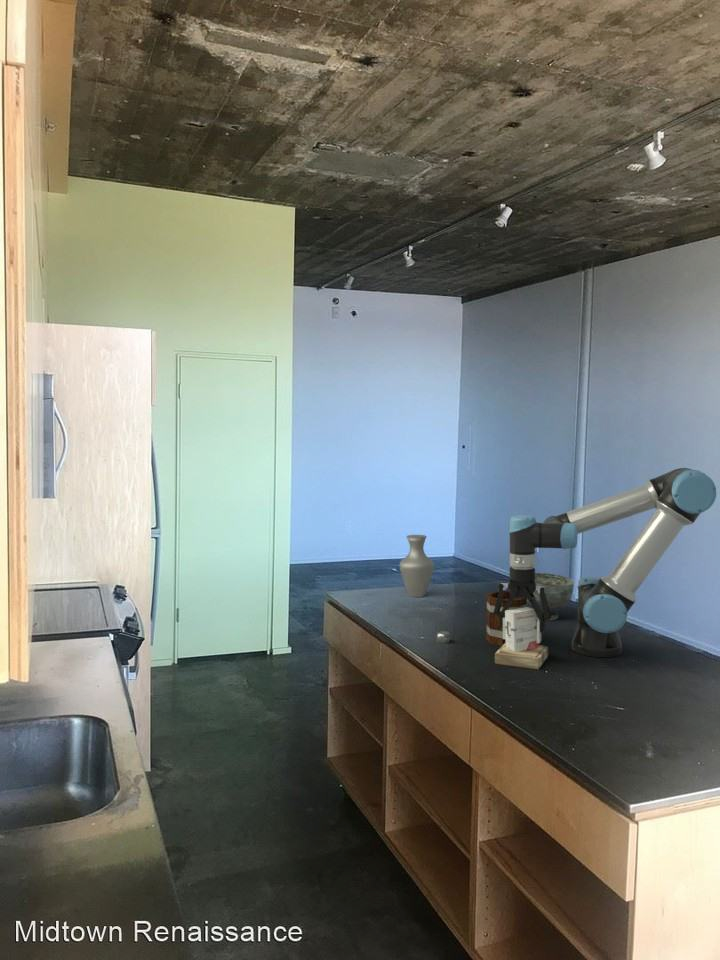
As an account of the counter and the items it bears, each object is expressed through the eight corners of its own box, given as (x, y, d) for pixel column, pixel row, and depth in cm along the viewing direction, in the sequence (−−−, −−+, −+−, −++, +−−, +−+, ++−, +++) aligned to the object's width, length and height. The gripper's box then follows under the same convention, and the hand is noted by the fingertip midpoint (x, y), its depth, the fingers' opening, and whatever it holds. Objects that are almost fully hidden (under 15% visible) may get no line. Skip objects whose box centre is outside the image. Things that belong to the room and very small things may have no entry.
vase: (417, 589, 320) (416, 532, 318) (441, 595, 309) (441, 536, 307) (392, 595, 311) (392, 535, 309) (416, 601, 300) (416, 539, 298)
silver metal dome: (439, 639, 248) (439, 630, 247) (451, 641, 246) (450, 632, 246) (435, 642, 244) (435, 633, 244) (446, 644, 242) (446, 635, 242)
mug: (524, 648, 237) (524, 601, 236) (482, 644, 242) (482, 598, 240) (531, 631, 256) (531, 588, 255) (491, 628, 260) (491, 586, 259)
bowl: (576, 625, 263) (576, 583, 261) (520, 623, 266) (520, 582, 264) (569, 611, 282) (570, 572, 281) (517, 609, 285) (517, 571, 284)
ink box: (527, 644, 230) (527, 606, 229) (537, 648, 225) (537, 609, 224) (504, 648, 226) (504, 609, 225) (514, 652, 221) (514, 613, 220)
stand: (506, 651, 234) (506, 640, 234) (547, 656, 229) (548, 645, 228) (494, 663, 223) (494, 651, 222) (538, 669, 217) (538, 657, 217)
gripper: (482, 566, 225) (482, 639, 227) (557, 572, 215) (556, 648, 217) (489, 562, 232) (489, 632, 233) (562, 567, 222) (561, 641, 224)
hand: (521, 640), depth 225 cm, fingers open, 10 cm apart
